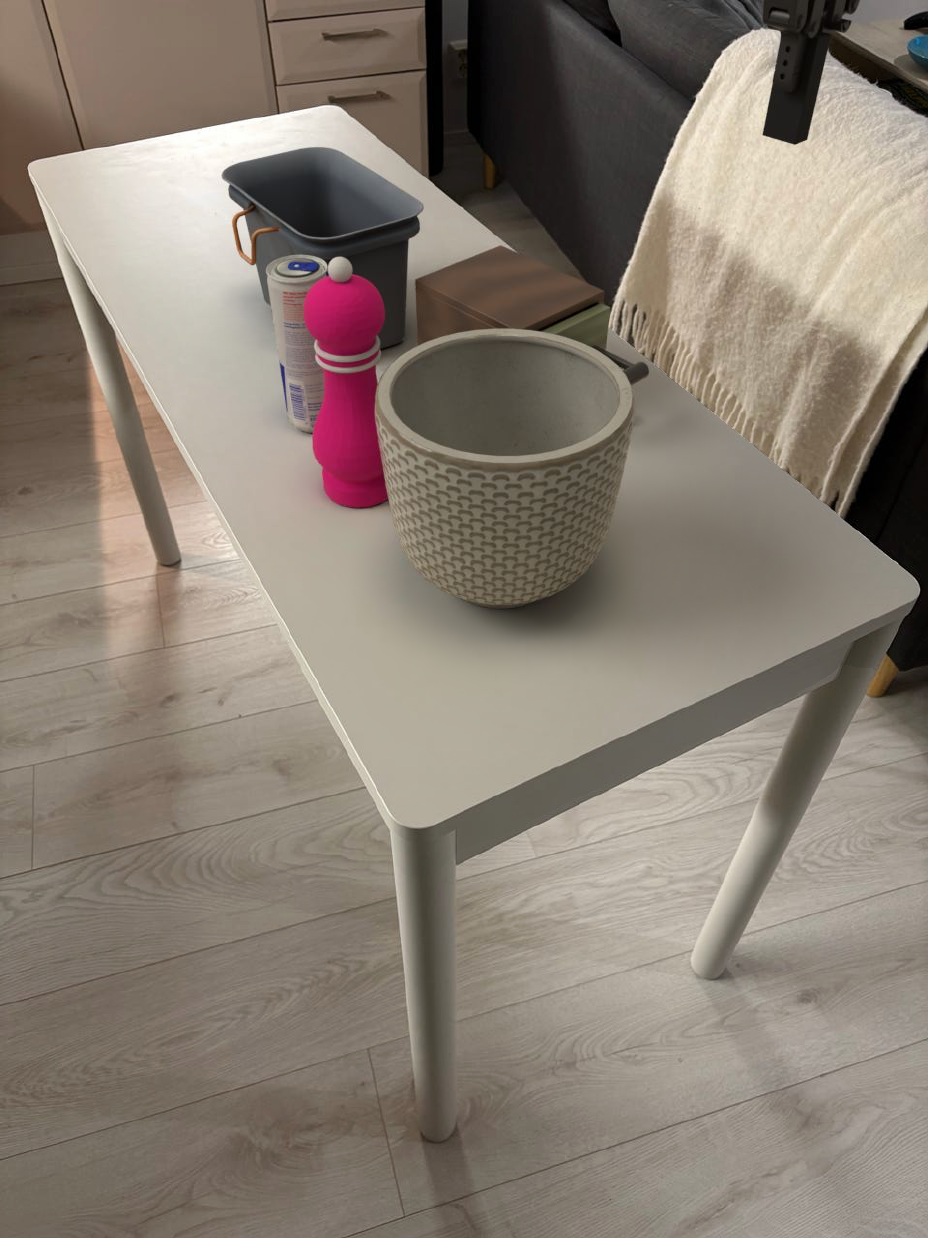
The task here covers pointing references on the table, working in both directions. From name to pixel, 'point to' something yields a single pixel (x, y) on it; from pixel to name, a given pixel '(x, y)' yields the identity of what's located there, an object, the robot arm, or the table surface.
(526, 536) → the planter
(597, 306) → the drawer
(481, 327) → the cabinet
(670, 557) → the table surface
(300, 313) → the beverage can
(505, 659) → the table surface
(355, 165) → the storage bin
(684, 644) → the table surface
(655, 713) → the table surface
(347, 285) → the pepper mill
